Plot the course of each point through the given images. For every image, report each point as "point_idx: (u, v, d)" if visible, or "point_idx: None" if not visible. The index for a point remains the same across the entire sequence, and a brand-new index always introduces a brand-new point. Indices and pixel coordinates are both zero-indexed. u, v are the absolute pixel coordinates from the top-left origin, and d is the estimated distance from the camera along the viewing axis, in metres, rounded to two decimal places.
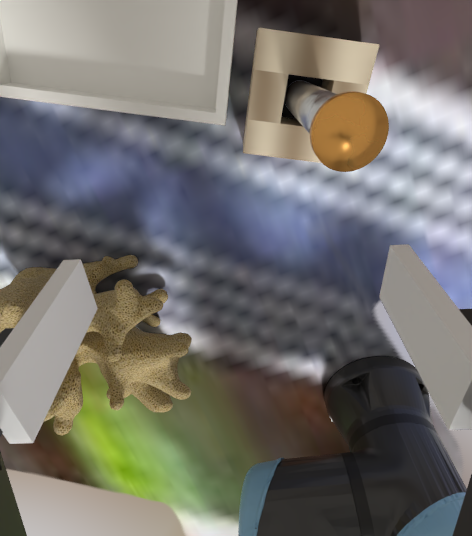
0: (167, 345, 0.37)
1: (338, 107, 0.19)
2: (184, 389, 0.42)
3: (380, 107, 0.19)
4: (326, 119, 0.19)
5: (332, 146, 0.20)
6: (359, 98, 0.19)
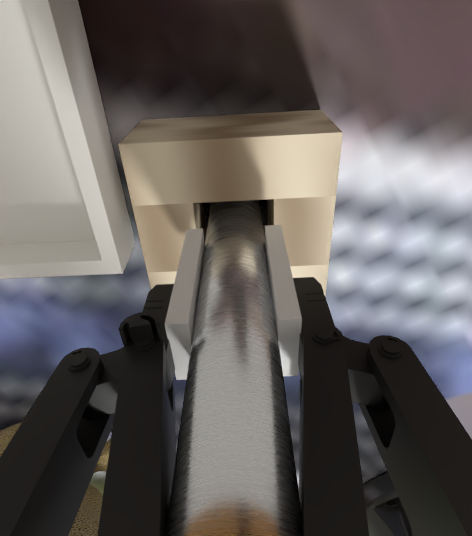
0: None
1: None
2: None
3: None
4: None
5: None
6: None
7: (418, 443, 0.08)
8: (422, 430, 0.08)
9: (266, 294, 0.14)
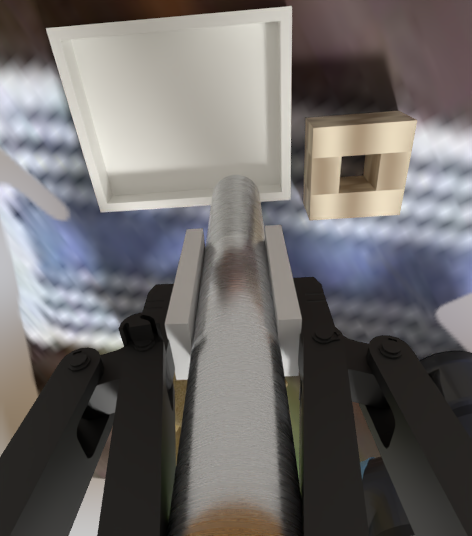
0: None
1: None
2: None
3: None
4: None
5: None
6: None
7: (418, 443, 0.08)
8: (422, 430, 0.08)
9: (267, 293, 0.14)
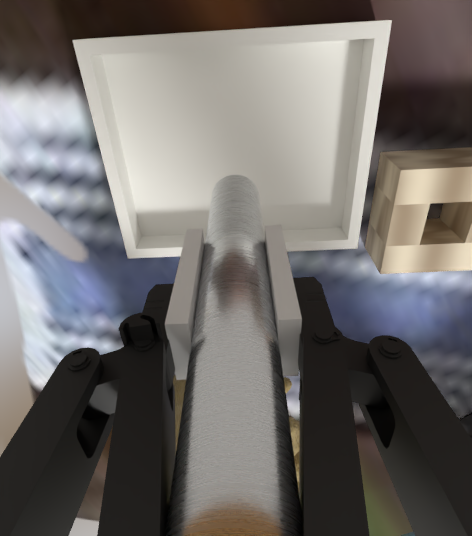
0: None
1: None
2: None
3: None
4: None
5: None
6: None
7: (418, 443, 0.08)
8: (422, 430, 0.08)
9: (266, 293, 0.13)
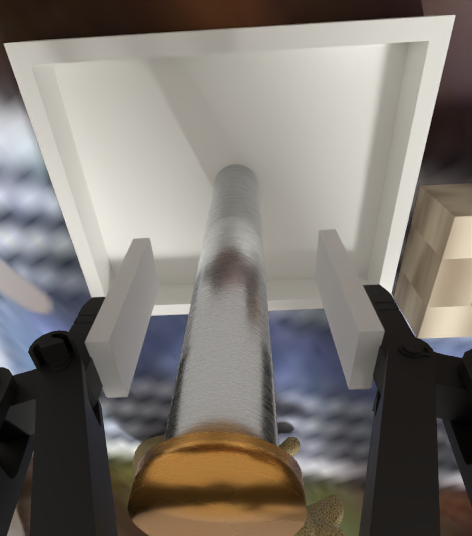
0: None
1: (166, 489, 0.08)
2: None
3: (269, 483, 0.07)
4: (150, 505, 0.08)
5: (187, 530, 0.09)
6: (210, 476, 0.07)
7: None
8: None
9: (258, 264, 0.15)
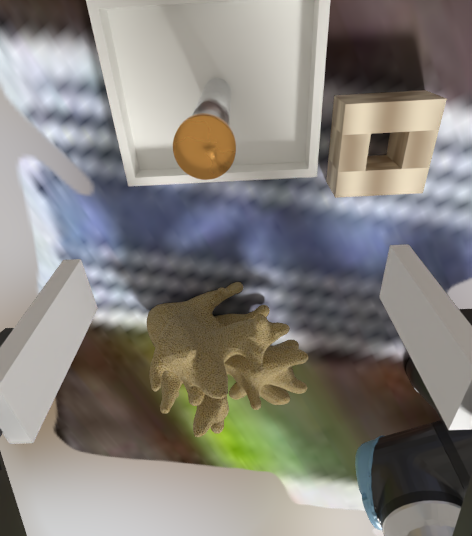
0: (291, 356, 0.47)
1: (186, 130, 0.23)
2: (302, 385, 0.51)
3: (221, 124, 0.22)
4: (181, 141, 0.23)
5: (193, 161, 0.24)
6: (201, 120, 0.22)
7: None
8: None
9: (225, 104, 0.30)
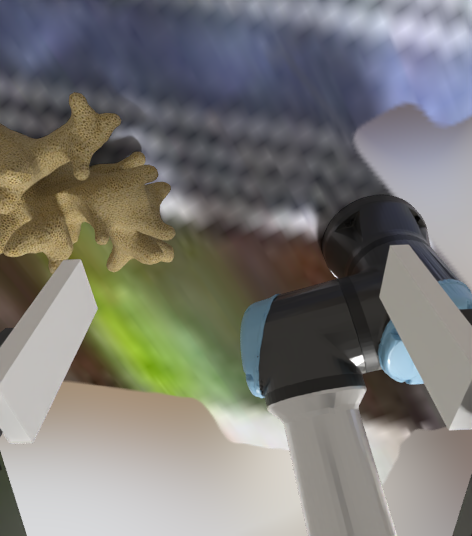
0: (137, 171, 0.38)
1: None
2: (167, 227, 0.43)
3: None
4: None
5: None
6: None
7: None
8: None
9: None
